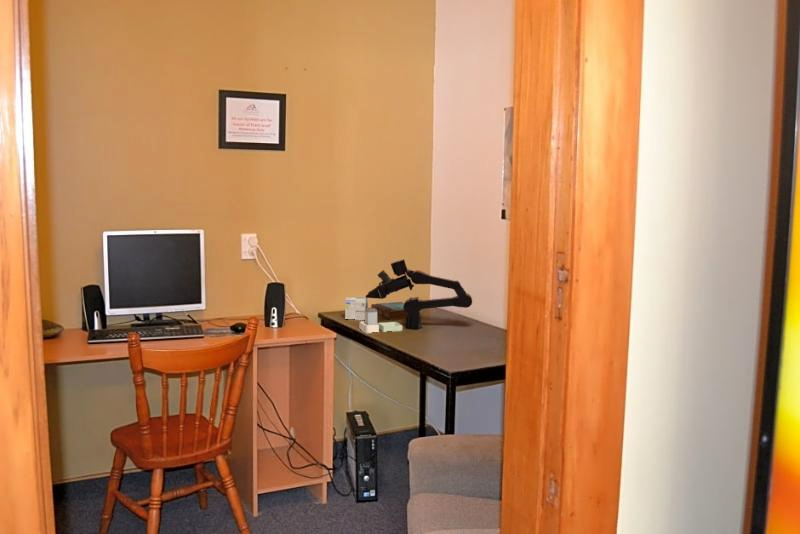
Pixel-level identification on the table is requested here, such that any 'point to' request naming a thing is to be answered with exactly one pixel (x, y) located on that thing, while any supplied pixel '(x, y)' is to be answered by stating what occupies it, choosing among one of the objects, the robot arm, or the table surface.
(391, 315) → the book
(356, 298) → the light bulb box
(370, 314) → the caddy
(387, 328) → the tray
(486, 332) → the table surface
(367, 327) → the bay
